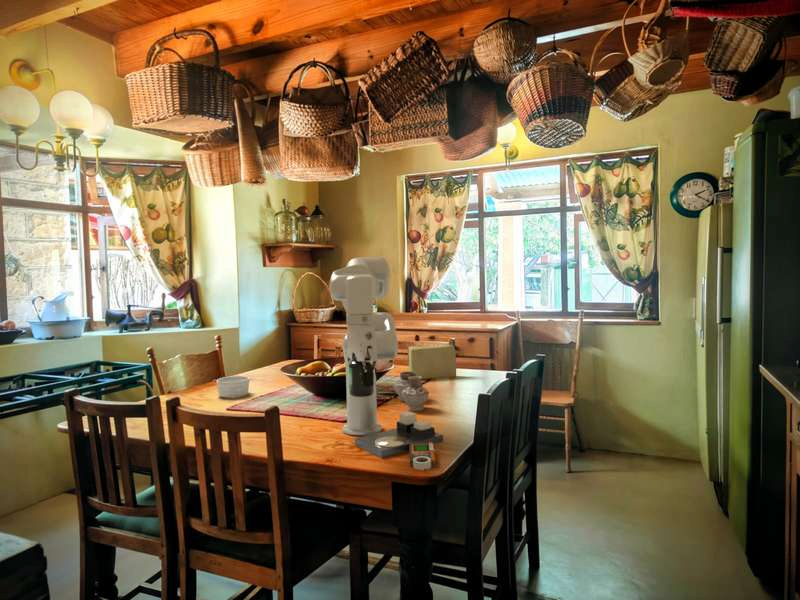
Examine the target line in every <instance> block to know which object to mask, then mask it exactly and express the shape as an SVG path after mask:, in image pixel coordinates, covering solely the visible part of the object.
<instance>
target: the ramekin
mask: <svg viewBox="0 0 800 600" xmlns="http://www.w3.org/2000/svg"><path fill="white" fill-rule="evenodd" d="M249 384H250V377H249V376H245V375H231V376H225V377H221V378H217V379H216V385H217V390H218V396H219V397H221V398H222V397H227V398H226V399H233V398H232V397H238V398H242V397H245V396H247V395H248V393H249V388H250V387H249V386H250V385H249ZM246 394H247V395H246ZM244 395H245V396H244ZM241 396H242V397H241Z"/></svg>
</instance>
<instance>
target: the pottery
mask: <svg viewBox="0 0 800 600" xmlns="http://www.w3.org/2000/svg"><path fill="white" fill-rule="evenodd" d="M399 377H400V379H398V380H397V381H395V382H394V383H393V388H394V391H395V393H396V394H397V395H398V396H399V397H400V400H401V401H402V402H404V403H405V404H406V405H407V406H408V408H407V410H408V411H409V412H421V411H423V410H424V405H425V404H426V402H427V401H428V398H429V390H428V389H426V388H424V387H423V383H422V380H423V379H422V377H421V376H416V374H415V372H410V371H409V370H408V371H402V372H399Z"/></svg>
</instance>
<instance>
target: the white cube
mask: <svg viewBox="0 0 800 600" xmlns="http://www.w3.org/2000/svg"><path fill="white" fill-rule="evenodd" d="M431 427H432V423H431V422H429V421H426V420H424V419H423V420H419V421H417V422H414V428H416V429H419V430H425V429H429V428H431Z"/></svg>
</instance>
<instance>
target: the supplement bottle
mask: <svg viewBox="0 0 800 600" xmlns="http://www.w3.org/2000/svg"><path fill="white" fill-rule="evenodd" d="M352 359H353V361H351V362H350V363H349V393H350V395H351V396H354V397H366V396H370V395H372V394H373V393H374V385H373V386H367V387H364V386H363V382H362V372H364V370H363V366H362V362H359V361H357V358H356V357H355V353H352ZM365 360H369V359H365ZM367 365H368V363H366V367H367Z"/></svg>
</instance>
